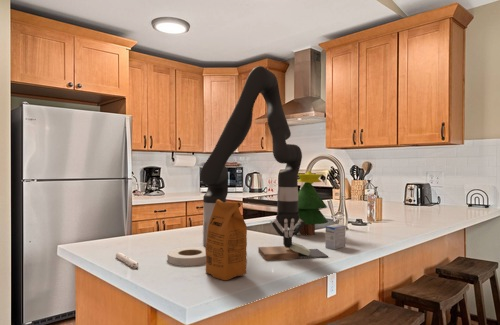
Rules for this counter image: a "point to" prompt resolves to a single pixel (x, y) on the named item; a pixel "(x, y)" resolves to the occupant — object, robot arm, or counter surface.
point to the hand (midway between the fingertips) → (287, 247)
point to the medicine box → (335, 236)
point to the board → (277, 253)
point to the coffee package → (226, 241)
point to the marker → (127, 260)
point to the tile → (300, 249)
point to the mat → (312, 254)
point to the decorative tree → (310, 204)
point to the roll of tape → (187, 256)
